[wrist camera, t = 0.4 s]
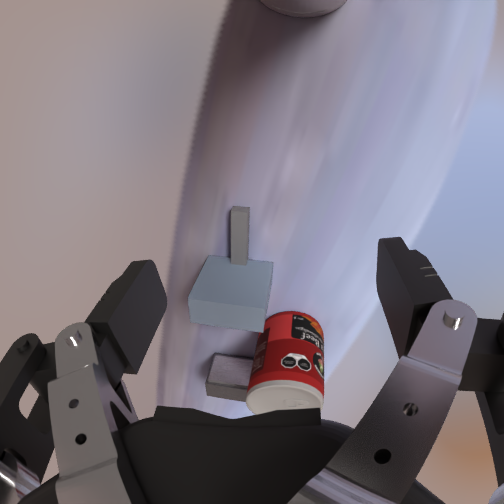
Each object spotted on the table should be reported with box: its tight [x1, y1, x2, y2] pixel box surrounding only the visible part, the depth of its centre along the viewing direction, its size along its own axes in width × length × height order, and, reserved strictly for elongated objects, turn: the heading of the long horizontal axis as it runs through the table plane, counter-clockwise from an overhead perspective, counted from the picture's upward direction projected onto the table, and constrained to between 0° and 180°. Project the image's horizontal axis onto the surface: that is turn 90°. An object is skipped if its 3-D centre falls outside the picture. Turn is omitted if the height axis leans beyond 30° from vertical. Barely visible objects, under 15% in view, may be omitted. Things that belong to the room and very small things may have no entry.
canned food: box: [246, 311, 324, 415], centre depth 34 cm, size 8×8×11 cm
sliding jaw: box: [188, 206, 273, 333], centre depth 30 cm, size 9×7×8 cm
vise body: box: [205, 353, 254, 402], centre depth 42 cm, size 6×8×6 cm
